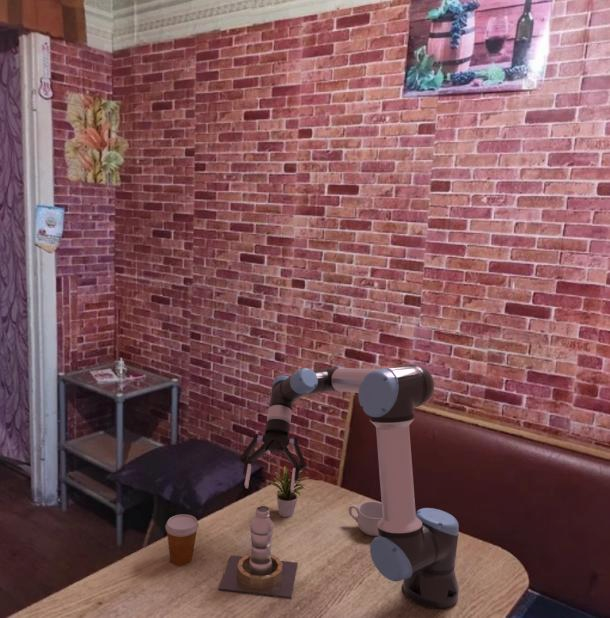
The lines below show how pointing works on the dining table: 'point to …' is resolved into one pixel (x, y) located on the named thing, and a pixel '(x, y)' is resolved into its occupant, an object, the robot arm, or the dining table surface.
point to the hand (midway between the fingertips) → (269, 489)
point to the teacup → (368, 516)
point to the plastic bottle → (261, 543)
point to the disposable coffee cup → (181, 538)
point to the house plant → (287, 494)
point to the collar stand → (259, 578)
